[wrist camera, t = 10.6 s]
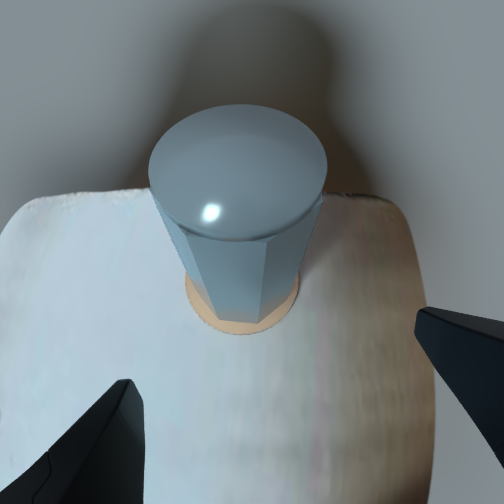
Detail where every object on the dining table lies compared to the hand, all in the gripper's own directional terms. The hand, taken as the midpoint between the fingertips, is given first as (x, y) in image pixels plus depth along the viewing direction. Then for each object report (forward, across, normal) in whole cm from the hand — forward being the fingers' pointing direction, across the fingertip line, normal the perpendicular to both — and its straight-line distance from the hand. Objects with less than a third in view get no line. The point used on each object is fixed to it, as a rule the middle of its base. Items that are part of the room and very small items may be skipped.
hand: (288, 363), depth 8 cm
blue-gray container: (+15, 0, +4) cm, 15 cm away
